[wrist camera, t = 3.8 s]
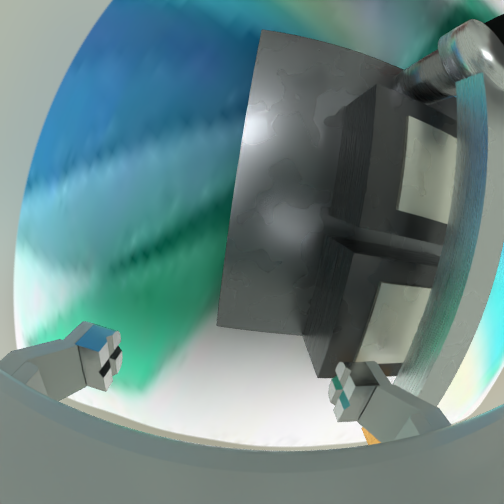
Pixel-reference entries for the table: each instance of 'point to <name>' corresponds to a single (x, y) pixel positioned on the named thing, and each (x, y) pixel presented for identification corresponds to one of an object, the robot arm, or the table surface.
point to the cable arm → (464, 216)
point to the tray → (292, 178)
